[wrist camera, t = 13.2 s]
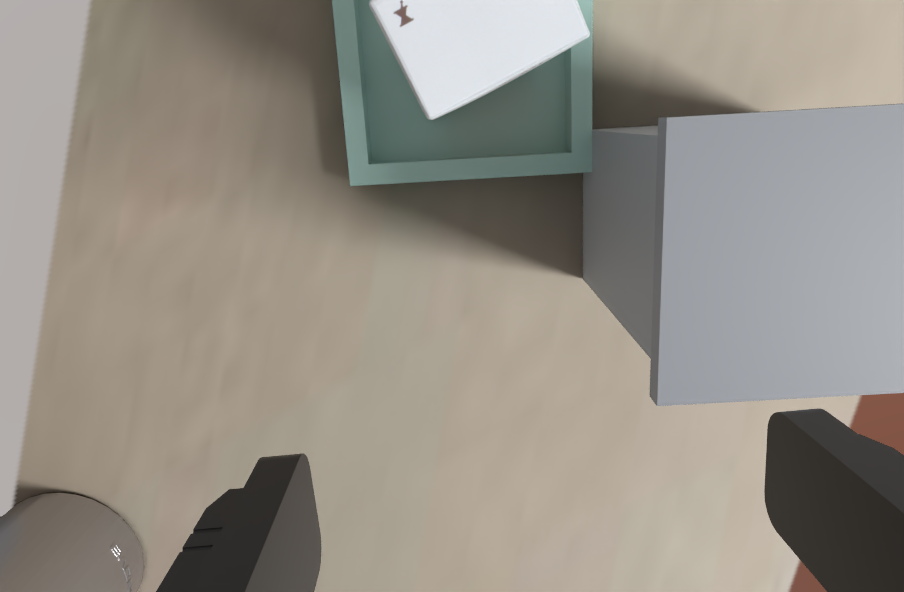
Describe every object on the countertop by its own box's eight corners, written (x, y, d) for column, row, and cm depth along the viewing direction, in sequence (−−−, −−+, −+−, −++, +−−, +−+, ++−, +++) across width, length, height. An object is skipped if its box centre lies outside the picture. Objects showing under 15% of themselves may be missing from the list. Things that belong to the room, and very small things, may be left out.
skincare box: (432, 123, 32) (424, 125, 21) (393, 43, 31) (361, -3, 20) (541, 67, 32) (595, 36, 20) (505, -18, 30) (539, -101, 19)
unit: (572, 290, 35) (657, 405, 21) (571, 118, 33) (666, 117, 18) (774, 278, 35) (997, 387, 21) (788, 105, 33) (1052, 95, 18)
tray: (356, 181, 34) (349, 186, 31) (332, -72, 30) (323, -86, 28) (582, 168, 33) (591, 172, 31) (582, -87, 30) (593, -103, 28)
